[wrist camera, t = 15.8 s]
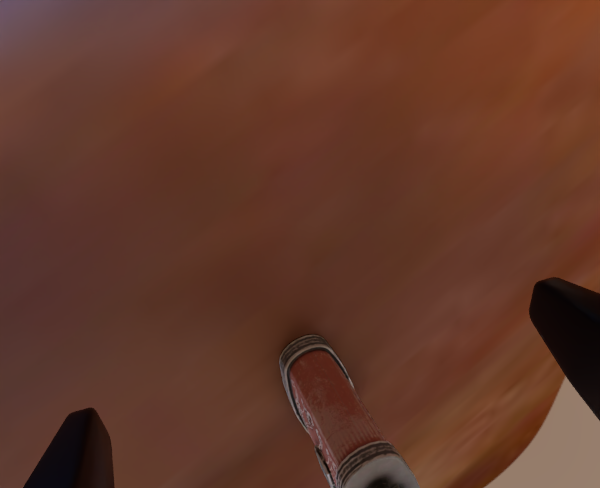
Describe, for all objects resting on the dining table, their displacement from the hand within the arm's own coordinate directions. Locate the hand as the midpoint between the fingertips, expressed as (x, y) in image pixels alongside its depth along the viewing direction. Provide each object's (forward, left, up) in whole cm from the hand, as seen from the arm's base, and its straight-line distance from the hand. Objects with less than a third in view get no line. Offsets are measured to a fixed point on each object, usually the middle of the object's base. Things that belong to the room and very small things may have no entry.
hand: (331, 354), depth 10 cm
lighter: (+1, -14, -11) cm, 18 cm away
